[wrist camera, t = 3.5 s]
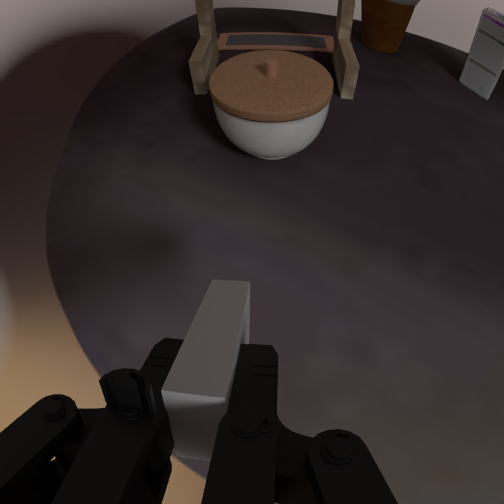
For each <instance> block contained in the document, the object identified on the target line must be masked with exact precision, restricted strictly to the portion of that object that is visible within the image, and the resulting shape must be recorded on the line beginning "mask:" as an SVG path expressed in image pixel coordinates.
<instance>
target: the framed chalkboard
mask: <svg viewBox="0 0 504 504" xmlns="http://www.w3.org/2000/svg"><path fill="white" fill-rule="evenodd" d="M333 47H334V39H333V36H325V35H314V34H299V33H274V32H243V33H221V34H220V36H219V39H218V49H219V50H242V49H269V50H297V51H312V52H324V53H333Z"/></svg>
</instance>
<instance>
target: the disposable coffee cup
mask: <svg viewBox="0 0 504 504" xmlns="http://www.w3.org/2000/svg"><path fill="white" fill-rule="evenodd" d="M361 1H362V2H361V3H362V23H361V41H362V43H363V44H365V45H366V46H368V47H369V48H371V49H374V50H376V51H380V52H385V53H395V52H397V51H398V48H399V45H400V43H401V41H402V38H403V36H404V33H405V31H406V28H407V26H408V23H409V21H410V18H411V16H412V13H413V11H414V8H415V5H417V3H418V2H419V1H420V0H361Z"/></svg>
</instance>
